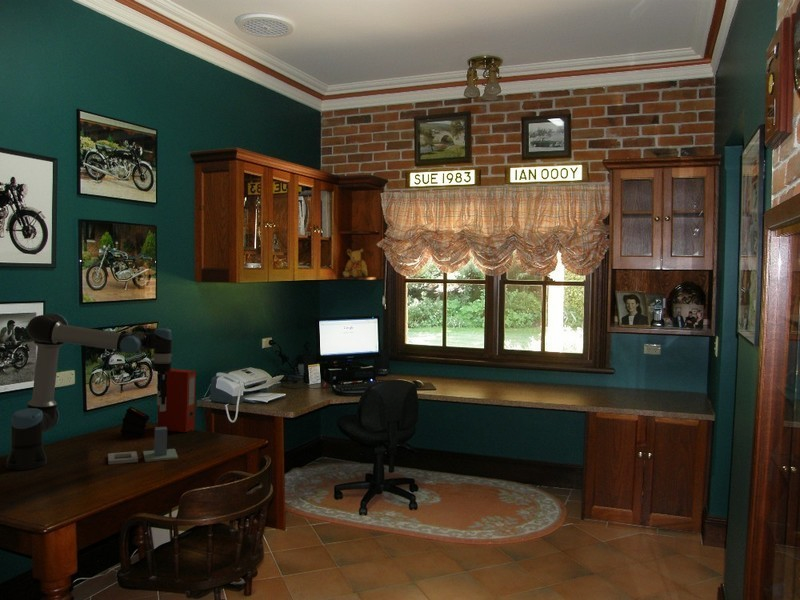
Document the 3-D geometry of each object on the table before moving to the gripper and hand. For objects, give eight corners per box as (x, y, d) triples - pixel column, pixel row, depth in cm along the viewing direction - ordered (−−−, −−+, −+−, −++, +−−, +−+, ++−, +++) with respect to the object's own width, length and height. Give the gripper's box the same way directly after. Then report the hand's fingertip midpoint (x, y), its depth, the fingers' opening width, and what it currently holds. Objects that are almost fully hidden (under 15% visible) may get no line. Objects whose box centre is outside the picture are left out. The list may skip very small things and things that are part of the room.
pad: (145, 461, 288) (145, 459, 288) (143, 453, 300) (143, 451, 300) (178, 459, 294) (178, 456, 294) (174, 450, 306) (174, 448, 306)
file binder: (166, 426, 351) (168, 368, 350) (194, 429, 347) (196, 370, 345) (157, 429, 343) (158, 370, 342) (185, 432, 339) (187, 372, 337)
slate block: (155, 455, 294) (155, 430, 293) (154, 452, 298) (154, 427, 298) (166, 455, 296) (167, 429, 295) (165, 452, 300) (166, 426, 300)
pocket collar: (108, 464, 282) (108, 461, 282) (108, 456, 293) (108, 453, 293) (137, 461, 287) (137, 458, 287) (136, 454, 298) (136, 451, 298)
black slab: (117, 431, 330) (130, 406, 329) (140, 443, 330) (153, 418, 329) (114, 433, 326) (127, 407, 325) (137, 445, 326) (150, 419, 325)
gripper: (174, 366, 285) (172, 413, 286) (168, 358, 308) (167, 402, 309) (156, 366, 282) (154, 414, 283) (151, 358, 305) (150, 402, 306)
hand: (161, 408), depth 296 cm, fingers open, 13 cm apart
